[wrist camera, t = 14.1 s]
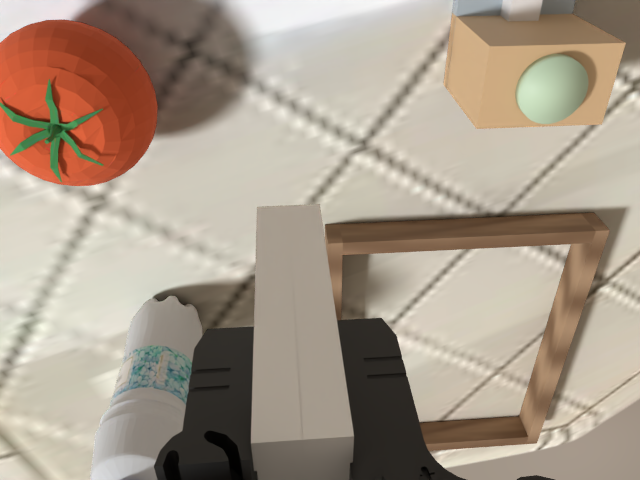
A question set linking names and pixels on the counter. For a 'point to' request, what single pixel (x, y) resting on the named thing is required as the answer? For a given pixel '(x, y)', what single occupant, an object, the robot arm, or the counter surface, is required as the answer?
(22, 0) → the counter surface
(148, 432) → the bottle
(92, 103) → the tomato
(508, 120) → the rail
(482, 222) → the wooden frame
